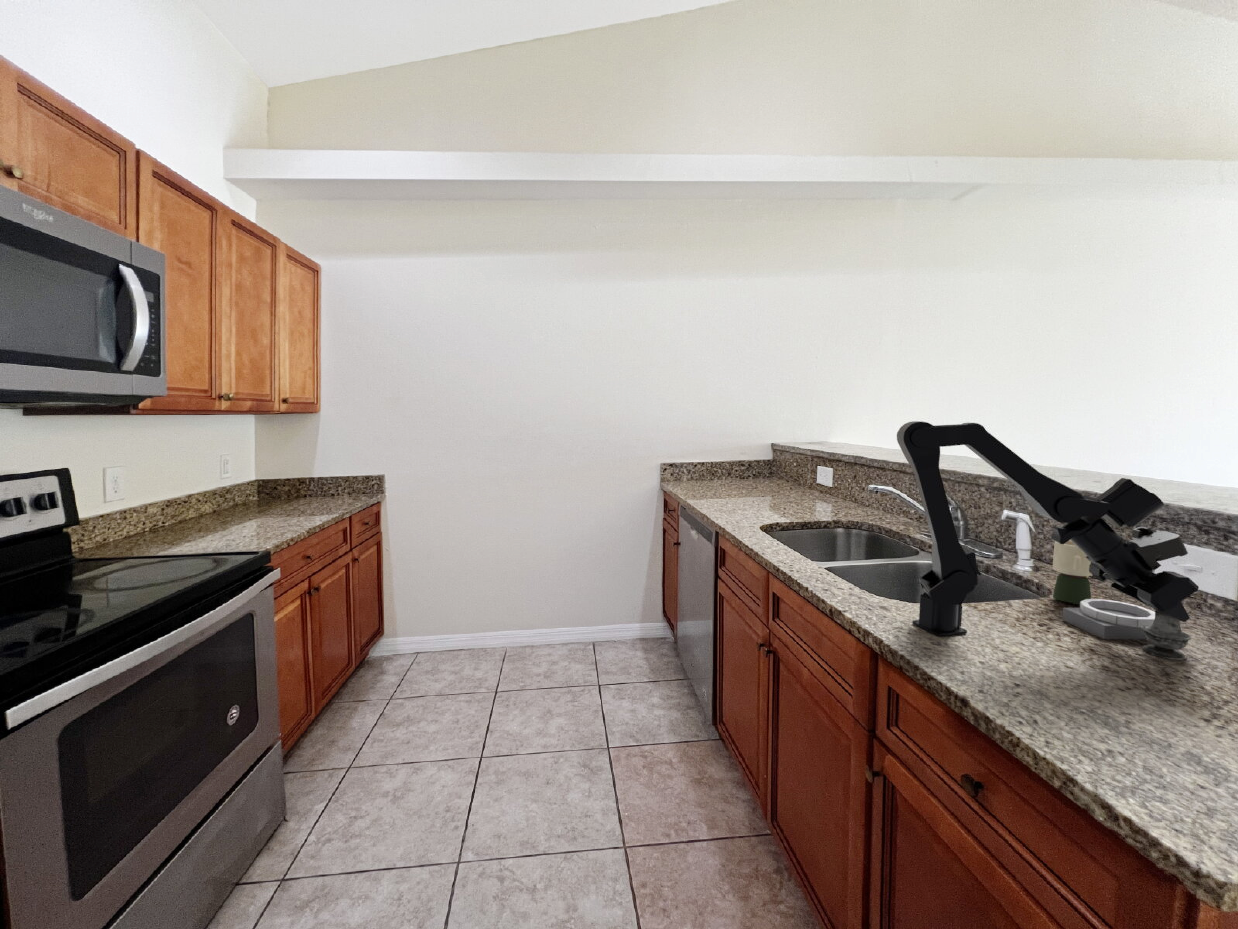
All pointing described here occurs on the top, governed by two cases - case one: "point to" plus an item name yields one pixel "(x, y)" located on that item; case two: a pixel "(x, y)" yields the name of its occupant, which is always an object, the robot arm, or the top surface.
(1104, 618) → the faceted bowl on plate
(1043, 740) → the top surface
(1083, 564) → the character mug
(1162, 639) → the grey stone finial
